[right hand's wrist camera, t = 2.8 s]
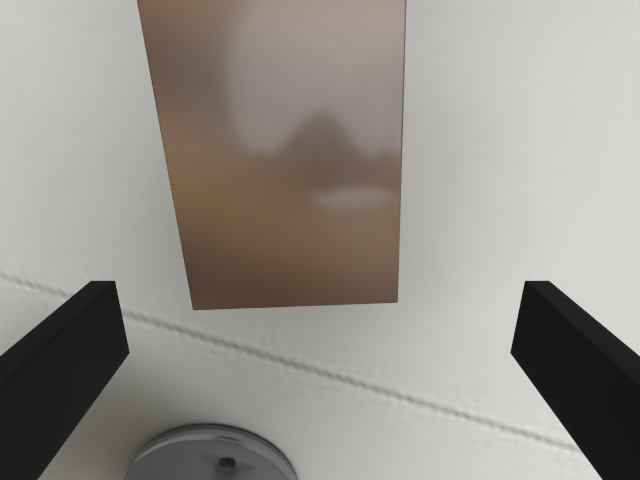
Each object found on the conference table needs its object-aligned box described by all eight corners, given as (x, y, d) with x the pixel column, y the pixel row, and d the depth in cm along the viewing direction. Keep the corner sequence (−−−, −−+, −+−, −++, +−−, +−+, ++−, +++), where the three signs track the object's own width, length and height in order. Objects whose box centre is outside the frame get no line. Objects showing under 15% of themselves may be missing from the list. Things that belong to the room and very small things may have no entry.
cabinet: (175, -122, 20) (92, -242, 13) (380, -134, 20) (414, -263, 13) (227, 251, 28) (192, 310, 20) (377, 245, 28) (397, 303, 20)
